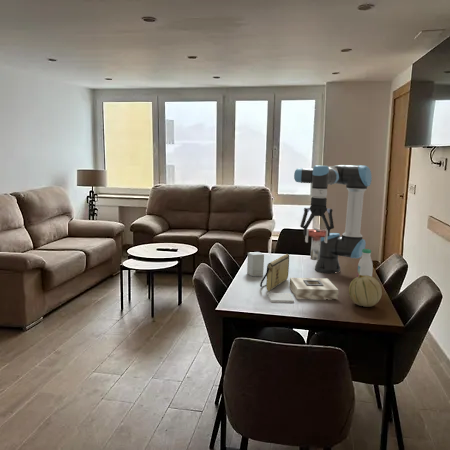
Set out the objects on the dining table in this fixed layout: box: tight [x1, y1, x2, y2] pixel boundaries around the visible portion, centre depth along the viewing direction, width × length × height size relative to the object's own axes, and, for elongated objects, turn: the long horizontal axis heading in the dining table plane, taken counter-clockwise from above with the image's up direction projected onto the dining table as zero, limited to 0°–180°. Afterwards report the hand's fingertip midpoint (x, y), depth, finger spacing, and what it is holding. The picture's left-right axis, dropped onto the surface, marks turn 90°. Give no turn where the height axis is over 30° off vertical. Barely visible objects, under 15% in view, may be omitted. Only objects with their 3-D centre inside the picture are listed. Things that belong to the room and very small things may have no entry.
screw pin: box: [308, 227, 326, 261], centre depth 216 cm, size 9×9×15 cm
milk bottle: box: [356, 248, 374, 277], centre depth 235 cm, size 8×8×20 cm
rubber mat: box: [267, 292, 295, 304], centre depth 209 cm, size 11×11×1 cm
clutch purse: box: [259, 253, 290, 292], centre depth 231 cm, size 30×7×15 cm, turn 152°
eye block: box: [289, 277, 339, 301], centre depth 219 cm, size 20×20×6 cm
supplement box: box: [246, 251, 265, 277], centre depth 250 cm, size 7×7×13 cm
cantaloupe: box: [348, 275, 383, 308], centre depth 201 cm, size 15×15×15 cm
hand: (316, 242), depth 215 cm, fingers closed on screw pin, 9 cm apart
